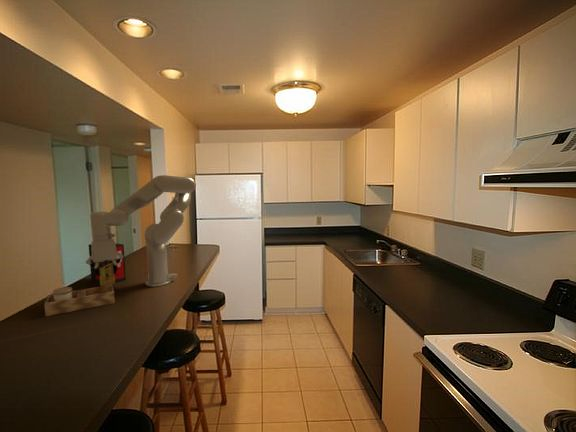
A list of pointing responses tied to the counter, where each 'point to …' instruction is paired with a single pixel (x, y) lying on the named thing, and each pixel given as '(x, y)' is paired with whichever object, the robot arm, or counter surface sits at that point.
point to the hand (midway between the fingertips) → (107, 274)
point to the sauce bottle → (106, 273)
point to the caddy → (80, 300)
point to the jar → (62, 293)
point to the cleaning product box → (120, 271)
